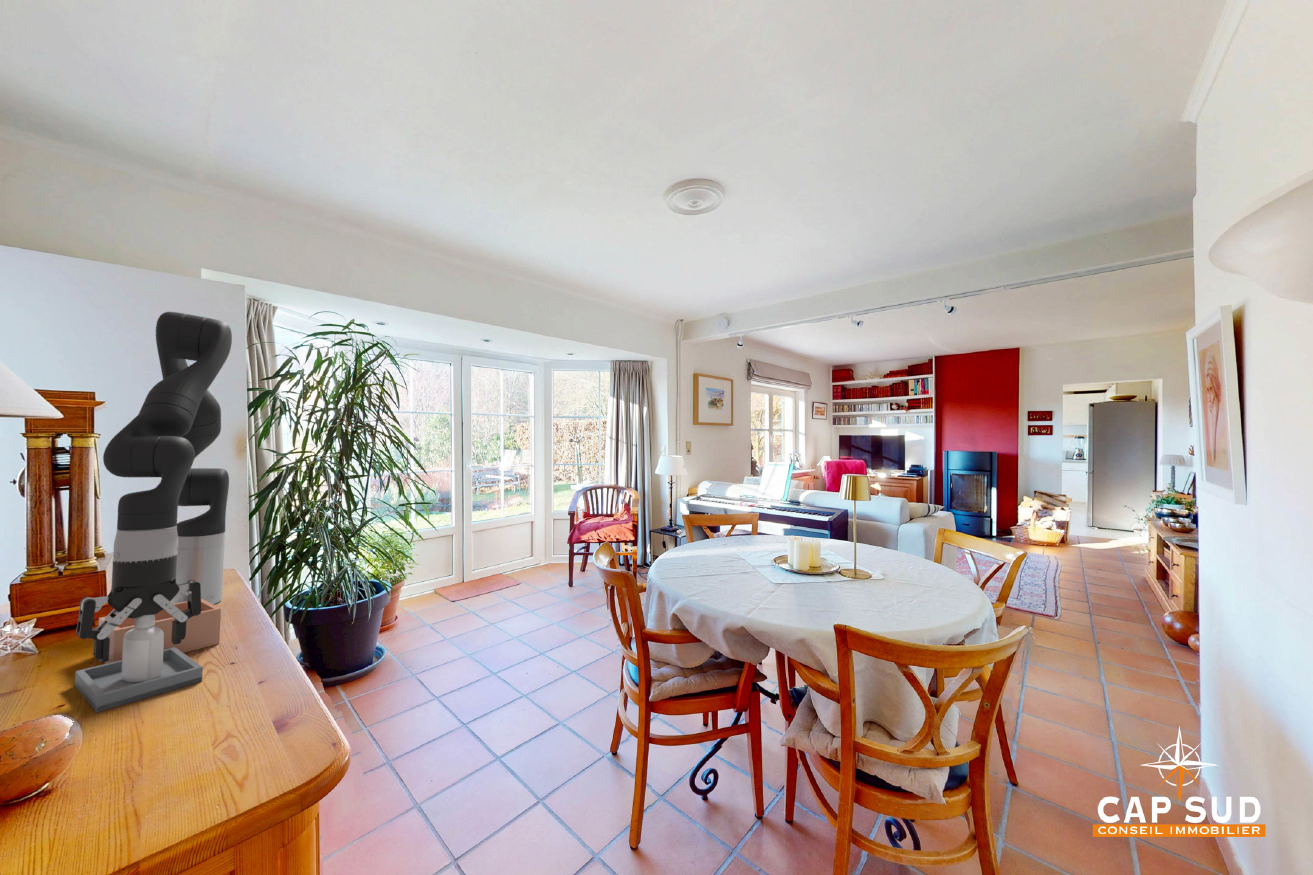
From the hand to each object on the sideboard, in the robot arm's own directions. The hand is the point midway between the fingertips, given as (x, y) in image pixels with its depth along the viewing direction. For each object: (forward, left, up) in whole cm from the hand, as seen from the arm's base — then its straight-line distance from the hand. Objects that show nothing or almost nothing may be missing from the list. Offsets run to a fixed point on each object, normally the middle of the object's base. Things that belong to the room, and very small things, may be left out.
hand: (141, 651), depth 82 cm
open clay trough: (-15, +6, -5) cm, 17 cm away
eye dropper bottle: (0, 0, -5) cm, 5 cm away
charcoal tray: (0, 0, -5) cm, 5 cm away
